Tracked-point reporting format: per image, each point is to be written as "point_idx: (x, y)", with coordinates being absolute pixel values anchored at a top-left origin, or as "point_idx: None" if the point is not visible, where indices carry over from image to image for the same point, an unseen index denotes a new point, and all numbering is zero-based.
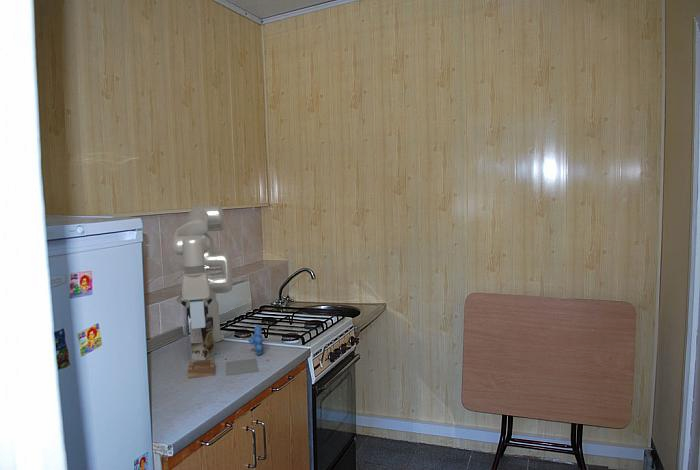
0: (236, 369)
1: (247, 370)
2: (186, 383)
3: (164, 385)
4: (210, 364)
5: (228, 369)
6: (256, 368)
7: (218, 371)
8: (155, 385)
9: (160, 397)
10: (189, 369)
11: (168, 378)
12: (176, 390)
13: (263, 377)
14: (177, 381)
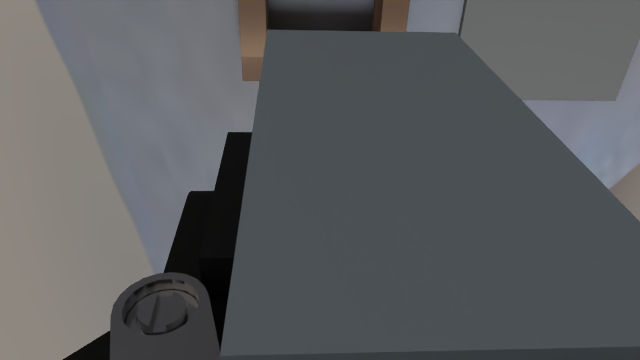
0: (519, 41)
1: (567, 80)
2: (246, 126)
3: (132, 113)
4: (382, 18)
5: (478, 22)
6: (621, 69)
7: (418, 12)
8: (80, 96)
9: (155, 233)
10: (251, 60)
11: (124, 15)
12: (210, 189)
13: (599, 177)
14: (192, 82)
